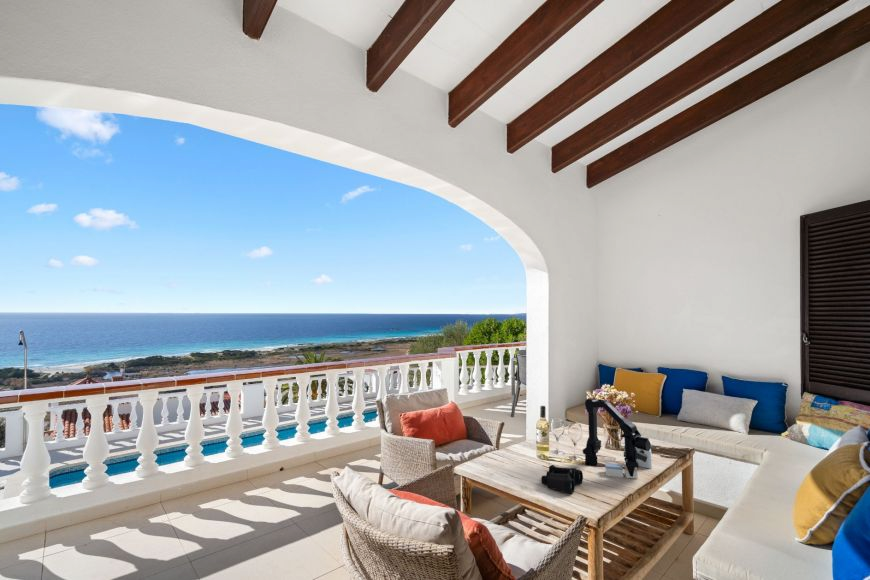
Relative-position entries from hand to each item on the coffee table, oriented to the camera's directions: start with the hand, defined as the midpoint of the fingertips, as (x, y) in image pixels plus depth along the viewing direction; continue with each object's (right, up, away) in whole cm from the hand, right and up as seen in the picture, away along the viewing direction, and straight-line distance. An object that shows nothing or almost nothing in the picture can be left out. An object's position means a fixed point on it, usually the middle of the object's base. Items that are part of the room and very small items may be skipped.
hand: (631, 474), depth 230 cm
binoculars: (-42, -1, -10) cm, 44 cm away
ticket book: (-8, -1, +3) cm, 9 cm away
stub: (0, -1, 0) cm, 1 cm away
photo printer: (+14, -2, +15) cm, 21 cm away
